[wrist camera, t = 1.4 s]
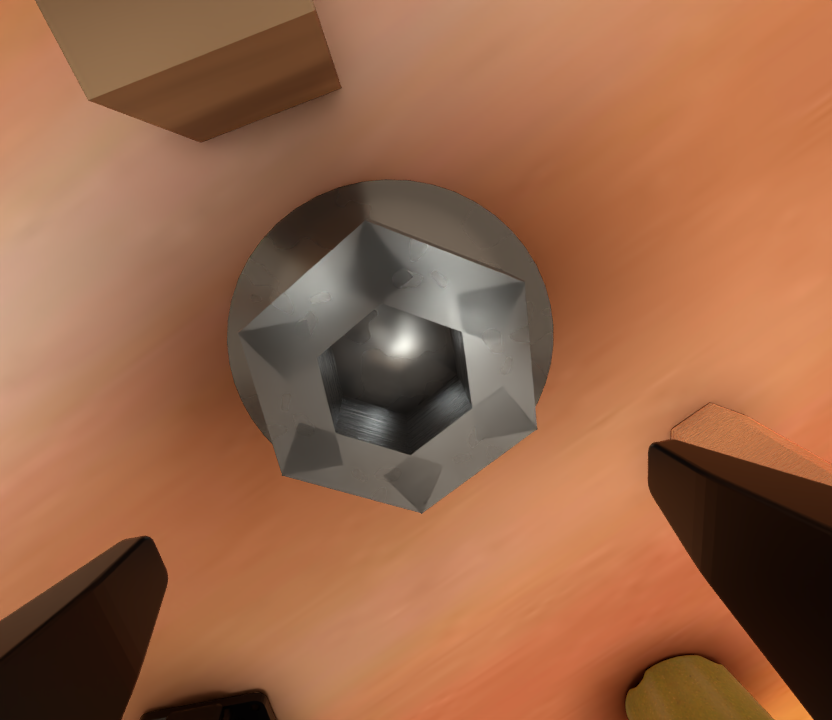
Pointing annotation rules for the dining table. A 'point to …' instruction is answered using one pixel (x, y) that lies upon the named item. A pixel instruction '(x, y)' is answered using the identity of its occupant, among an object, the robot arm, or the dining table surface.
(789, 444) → the tan elongated piece
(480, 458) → the socket
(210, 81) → the brown wooden block
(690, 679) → the plant pot
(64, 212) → the dining table surface
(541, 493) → the dining table surface
